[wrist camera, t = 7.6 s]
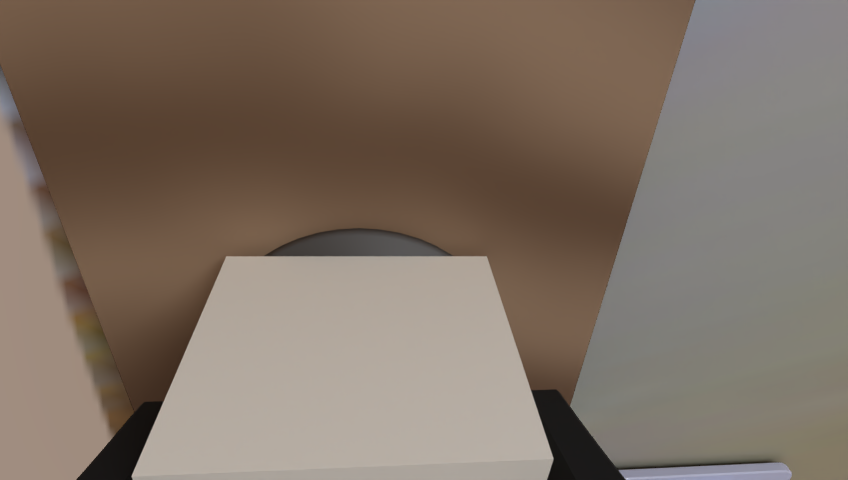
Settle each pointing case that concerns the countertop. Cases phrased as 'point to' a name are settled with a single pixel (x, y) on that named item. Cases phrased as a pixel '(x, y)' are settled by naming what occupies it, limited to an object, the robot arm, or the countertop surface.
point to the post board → (340, 148)
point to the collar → (350, 377)
